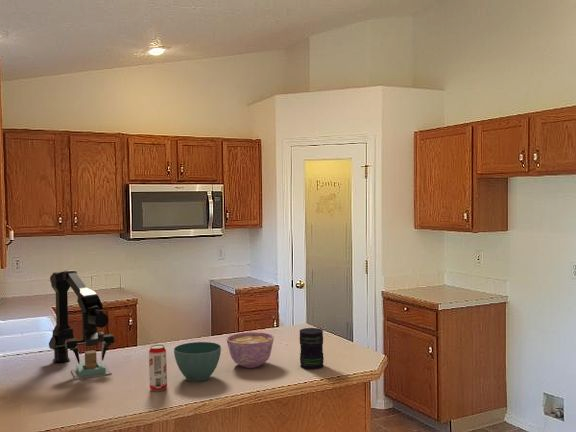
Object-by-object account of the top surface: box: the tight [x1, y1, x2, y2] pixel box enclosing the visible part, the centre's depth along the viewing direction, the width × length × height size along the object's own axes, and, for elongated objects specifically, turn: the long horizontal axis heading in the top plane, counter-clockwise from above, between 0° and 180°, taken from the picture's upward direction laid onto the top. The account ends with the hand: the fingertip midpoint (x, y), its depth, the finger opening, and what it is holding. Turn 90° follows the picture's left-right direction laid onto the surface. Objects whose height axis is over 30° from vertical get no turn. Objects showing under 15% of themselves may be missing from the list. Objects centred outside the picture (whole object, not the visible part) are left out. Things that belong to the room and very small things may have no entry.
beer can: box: [148, 344, 168, 393], centre depth 214 cm, size 6×6×16 cm
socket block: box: [70, 361, 112, 381], centre depth 237 cm, size 14×14×2 cm
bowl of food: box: [226, 331, 275, 369], centre depth 243 cm, size 20×20×12 cm
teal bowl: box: [173, 341, 222, 383], centre depth 226 cm, size 18×18×12 cm
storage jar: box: [299, 327, 325, 371], centre depth 239 cm, size 10×10×15 cm
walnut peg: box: [84, 350, 97, 369], centre depth 236 cm, size 4×4×8 cm
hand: (90, 362), depth 236 cm, fingers open, 9 cm apart
